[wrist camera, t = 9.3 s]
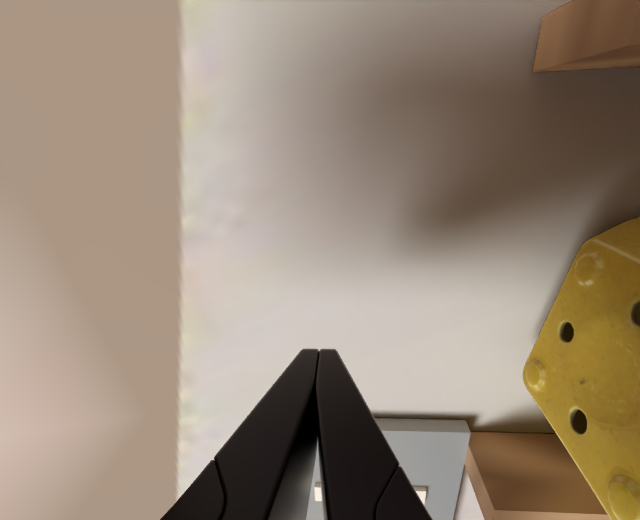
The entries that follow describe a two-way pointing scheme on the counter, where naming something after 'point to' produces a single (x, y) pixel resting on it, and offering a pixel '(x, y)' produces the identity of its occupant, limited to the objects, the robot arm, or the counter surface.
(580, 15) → the wooden tray frame
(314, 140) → the counter surface
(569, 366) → the flower pot
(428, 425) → the tile
